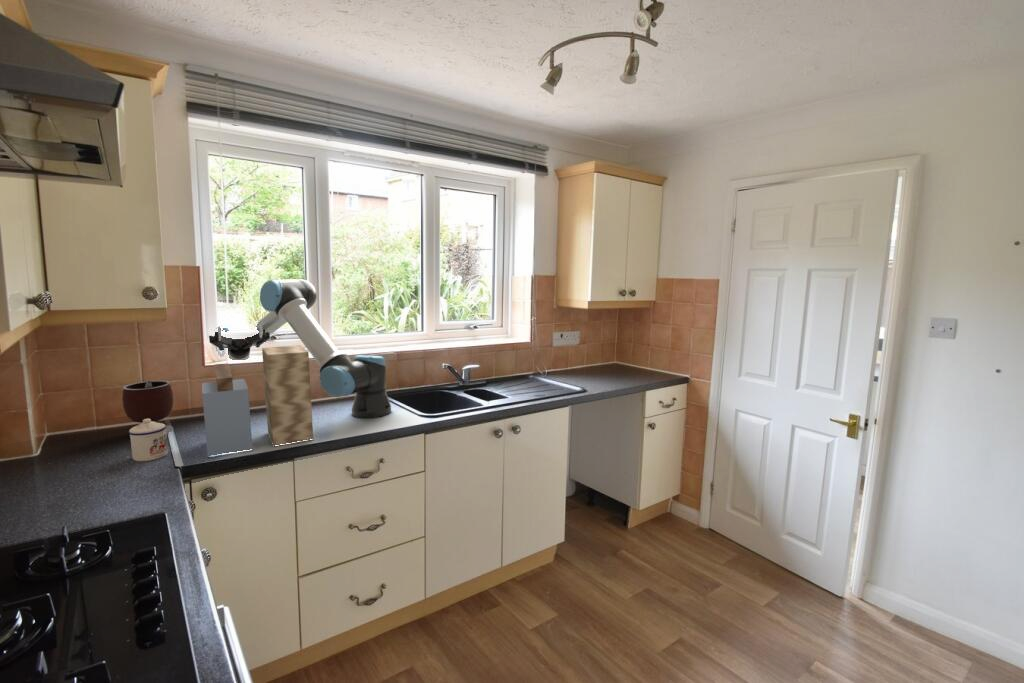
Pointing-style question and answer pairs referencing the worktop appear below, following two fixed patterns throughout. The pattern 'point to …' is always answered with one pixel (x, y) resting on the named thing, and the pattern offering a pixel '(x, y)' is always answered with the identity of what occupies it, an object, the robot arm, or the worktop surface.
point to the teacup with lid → (148, 441)
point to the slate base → (227, 418)
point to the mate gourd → (148, 401)
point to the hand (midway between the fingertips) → (240, 328)
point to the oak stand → (287, 394)
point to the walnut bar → (223, 377)
